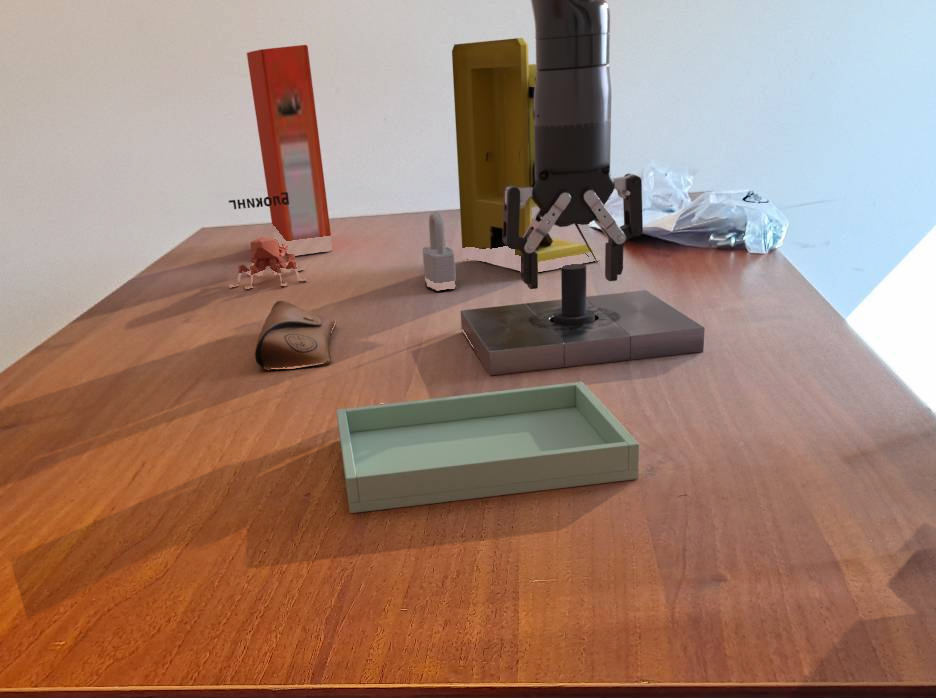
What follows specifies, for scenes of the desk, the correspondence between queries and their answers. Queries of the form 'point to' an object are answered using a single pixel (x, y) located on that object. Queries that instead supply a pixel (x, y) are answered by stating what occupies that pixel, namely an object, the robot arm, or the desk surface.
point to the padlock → (438, 253)
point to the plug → (573, 297)
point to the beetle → (267, 244)
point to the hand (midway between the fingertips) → (572, 283)
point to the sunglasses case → (293, 338)
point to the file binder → (289, 140)
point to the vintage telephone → (497, 142)
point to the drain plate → (579, 333)
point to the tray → (481, 446)
